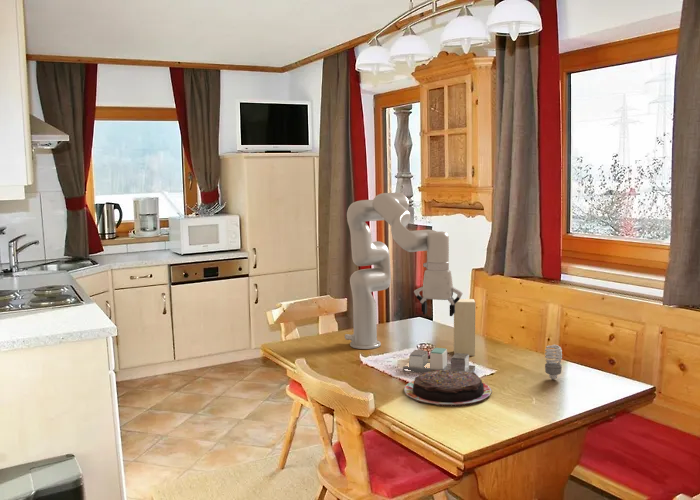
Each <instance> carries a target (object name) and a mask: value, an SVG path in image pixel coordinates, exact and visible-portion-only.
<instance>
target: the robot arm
mask: <svg viewBox="0 0 700 500" xmlns="http://www.w3.org/2000/svg"><path fill="white" fill-rule="evenodd" d="M409 206H410V203H409V199H408V198H407V196H406V195H405V194H404V193H402V192H384V193H383V192H382V193H379V194H377V195H376V196H374V198H373V199H361V200H357V201H354V202H352V203H351V204H350V205H349V206H348V209H347V212H346V218H347V219H346V221H347V225H348V228H349V229H348V230H349V233H350V247H351V249H350V250H351V258H352V262H353V264H354V265H355V266H357V267H366V266H367V267H368V266H373V267H372V268H364V269H359V270H356V271H354V272H353V273H352V274H351V275H350V277H349V284H350V289H351V295H352V317H353V318H352V320H353V322H352V323H353V333H352V334H347V333H345V334H344V339H345V341H346V340H347V341H349V340H350V343H349V345H350V347H351V348H353V349H359V350H371V349H376V348H379V347H380V346H381V344H382V343H381V341H380V340H378V338H377V337H378V336H377V335H378V334H377V333H378V331H377V330H378V327H377V326H378V324H377V301H376V299H375V297H374V296H373V294H372V293H373V292H379V291H384V290H387V289H388V288H389V287H390V285H391V281H392V274H391V273H392V272H391V258H390V257H391V255H390V250H389V248H388V246H387V245H386V243H384V242H382V241H378V240H377V241H373V237H372V231H371V228H370V227H369V225H368V223H366V222H375V221H385V222H386V223H387V224H388V225H389V226H390V232H391V236H392V239H393V240H394V242H395V243H396V244H397V245H398V246H399V247H400V248H401V249H403V250H404V251H406V252H409V253H414V252H426V255H427V256H426V262H423V267H424V268H426V270H424V273H423V274H424V275H423V280H422V286H421V287H419V288H417V289H414V291H413V293H414V295H415V296H416V299H417V300H418V301H419V302H420V304H421V305H420V306H421V307H420V308H421V312H422V315H423V316H425V315H426V314H427V313H428V302H427V300H438V301H440V300H441V301H443V300H444V301H448V302H449V317H454V313H455V303H456V302H458V301H459V300H460V299H462V296H463V292H462V291H461V290H459V289H457V288H456V287H454V286H453V277H452V271H451V270H450V268H449V267H450V266H449V265H450V256H449V255H450V254H449V253H450V249H449V248H450V245H449V244H450V243H449V241H450V239H449V237H450V236H449V234H448V233H447V232H446V231H438V230H437V231H436V230H434V229H418V230H409V229H408V228H407V226H408V224H409V223H410V222H411V213H410V211H409V208H410V207H409ZM420 292H422V295H421V294H420ZM454 294H456V295H457V296H456V297H455V298H454V296H453V295H454ZM454 299H455V300H454Z"/></svg>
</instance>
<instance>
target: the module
mask: <svg viewBox="0 0 700 500" xmlns="http://www.w3.org/2000/svg"><path fill="white" fill-rule="evenodd" d="M429 362H430V368H432V369H444V367H445V366H446V365H447V363H448V349H447V348H444V347H435V348H434V349H432V350H431V351H430V354H429Z"/></svg>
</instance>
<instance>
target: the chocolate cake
mask: <svg viewBox="0 0 700 500" xmlns="http://www.w3.org/2000/svg"><path fill="white" fill-rule="evenodd" d="M403 392H404V393H405V396H407V397H408V398H410V399H413V400H416V402H418V403H419V404H431V405H436V406H439V407H465V406H467V407H468V406H471V405H472V404H479V403H480V404H481V403H482V402H484V400H487V399H490V396H491V394H492V392H493V390H492V387H490V386H489V385H488V384H486V383H484V382H482V379H481V378H480V377H479V375H478V374H477V373H475V371H474V372H472V373H469V372H461V371H449V370H448V369H447V370H436V369H435V370H431V371H429V372H426V373H425V372H424V373H421V374H419V375H417V376H416V377H415V379H414V380H412V381H410V382H408V383H407V384H406V385H405V386H404V389H403Z"/></svg>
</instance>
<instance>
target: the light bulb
mask: <svg viewBox="0 0 700 500" xmlns="http://www.w3.org/2000/svg"><path fill="white" fill-rule="evenodd" d="M544 351H545V352H544V355H545V356H544V358H545V364H544V369H545V373H546V374H548V375H549V378H550V379H551V381H552V380H553V381H554V380H556V379H557V378H558V375H560V374H562V369H563V368H562V364H561V362H562V359H563V353H562V352H563V350H562V347H561V346H559V345H558V344H552V345H546V347H545V349H544Z"/></svg>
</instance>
